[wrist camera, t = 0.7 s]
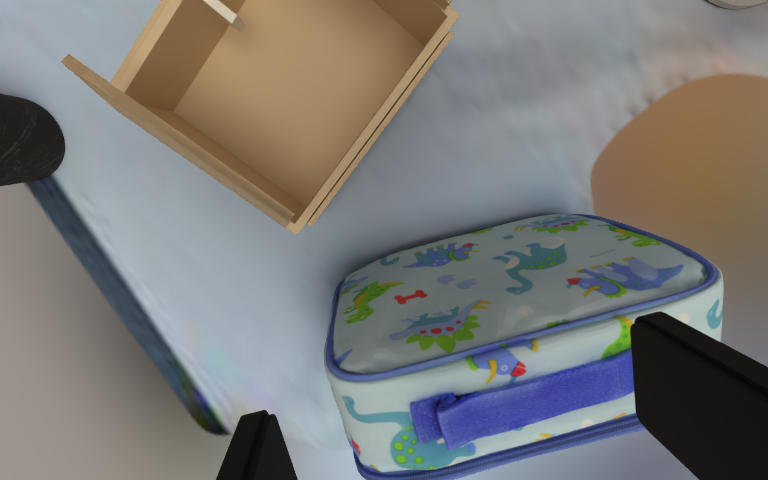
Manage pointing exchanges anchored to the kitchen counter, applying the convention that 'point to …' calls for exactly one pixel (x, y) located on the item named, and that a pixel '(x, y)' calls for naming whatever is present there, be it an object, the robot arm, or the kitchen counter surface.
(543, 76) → the kitchen counter surface
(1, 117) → the travel mug
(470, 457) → the lunch box
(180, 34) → the carton
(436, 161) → the kitchen counter surface
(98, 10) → the kitchen counter surface
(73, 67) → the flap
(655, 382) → the robot arm
